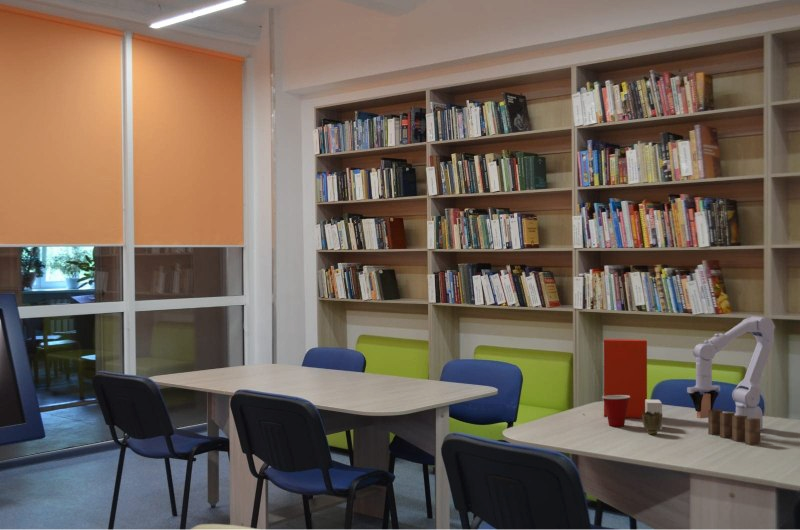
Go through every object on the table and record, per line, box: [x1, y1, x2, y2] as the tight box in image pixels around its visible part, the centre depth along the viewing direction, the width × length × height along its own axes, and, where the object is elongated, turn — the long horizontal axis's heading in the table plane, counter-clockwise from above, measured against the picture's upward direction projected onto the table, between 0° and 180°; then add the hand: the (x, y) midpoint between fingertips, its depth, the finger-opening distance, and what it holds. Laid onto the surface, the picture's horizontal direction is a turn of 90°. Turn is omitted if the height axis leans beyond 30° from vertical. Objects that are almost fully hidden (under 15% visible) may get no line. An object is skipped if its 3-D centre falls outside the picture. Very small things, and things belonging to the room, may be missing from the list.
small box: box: [645, 398, 663, 431], centre depth 316 cm, size 8×6×10 cm
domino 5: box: [744, 418, 761, 446], centre depth 288 cm, size 5×2×9 cm, turn 112°
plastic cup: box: [601, 395, 630, 428], centre depth 320 cm, size 11×11×12 cm
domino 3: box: [719, 411, 736, 439], centre depth 299 cm, size 5×2×9 cm, turn 112°
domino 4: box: [731, 414, 747, 443], centre depth 293 cm, size 5×2×9 cm, turn 112°
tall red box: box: [603, 338, 648, 419], centre depth 340 cm, size 8×17×32 cm, turn 76°
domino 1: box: [696, 392, 711, 419], centre depth 310 cm, size 5×2×9 cm, turn 112°
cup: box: [641, 411, 663, 436], centre depth 304 cm, size 8×7×8 cm
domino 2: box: [707, 408, 724, 436], centre depth 304 cm, size 5×2×9 cm, turn 112°
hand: (703, 410), depth 310 cm, fingers closed on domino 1, 5 cm apart
